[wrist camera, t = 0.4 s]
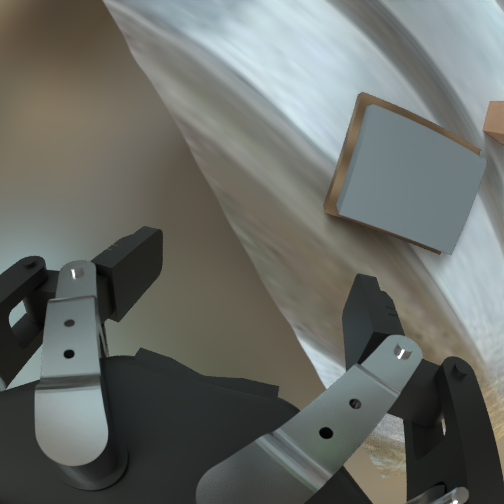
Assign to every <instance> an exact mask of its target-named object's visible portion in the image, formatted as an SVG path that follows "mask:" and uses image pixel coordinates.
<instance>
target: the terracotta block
mask: <svg viewBox="0 0 504 504" xmlns="http://www.w3.org/2000/svg"><path fill="white" fill-rule="evenodd" d="M483 131H484V132H486V133H487V134H489V135H490V136H491V137H493V138H494V139H496V140H497V141H499V142H500V143H501V144H503V145H504V101H490V102H489V106H488V111H487V115H486V119H485V123H484V127H483Z"/></svg>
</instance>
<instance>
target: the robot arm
mask: <svg viewBox="0 0 504 504" xmlns="http://www.w3.org/2000/svg"><path fill="white" fill-rule="evenodd" d="M162 252H163V233H162V231H161V230H160V229H156V228H151V227H147V226H144V227H142V228H141V229H139V230H138V231H136V232H135V233H134V234H132V235H129V236H126V237H123V238H121V239H119V240H118V241H117V242H115V243H114V245H111V246H110V247H109V248H108V249H106V250H104V251H103V252H102V253H100V254H99V255H98V256H97V257H95V258H94V259H93V260H91V261H86V260H76V261H72V262H69V263H67V264H65V265H64V266H63V267H62V268H61V269H60V271H54V270H47V269H46V264H45V260H44V259H43V258H42V257H40V256H29V257H25V258H23V259H21V260H19V261H18V262H16V263H15V264H14V265H13V266H11V267H10V268H8V269H7V270H6V271H4V272H3V273H2V274H1V275H0V504H373V503H372V502H371V501H370V499H369V498H368V497H367V496H366V494H365V493H364V492H363V491H362V489H361V488H360V487H359V485H358V484H357V483H356V482H355V480H354V479H353V478H352V476H351V475H350V474H349V472H348V471H347V470H346V469H345V467H344V466H343V464H344V463H345V462H346V461H347V460H348V459H349V458H350V457H351V456H352V454H353V453H354V452H355V451H356V450H357V449H358V448H359V447H360V445H361V444H362V443H363V442H364V441H365V439H366V438H367V437H368V436H369V435H370V433H371V432H372V431H373V430H374V428H375V427H376V426H377V425H378V423H379V422H380V421H381V420H382V418H383V417H384V416H385V414H386V413H388V414H391V415H394V416H396V417H399V418H402V419H403V424H404V435H405V450H406V473H407V502H406V503H405V504H504V481H503V475H502V469H501V464H500V459H499V454H498V450H497V445H496V441H495V437H494V433H493V429H492V426H491V422H490V419H489V415H488V412H487V408H486V405H485V402H484V399H483V396H482V393H481V390H480V387H479V384H478V381H477V379H476V376H475V373H474V371H473V369H472V368H471V366H470V365H469V364H468V363H467V362H466V361H464V360H462V359H461V358H458V357H453V356H452V357H447V358H446V359H445V360H444V361H443V363H442V364H441V366H439V365H437V364H434V363H432V362H429V361H426V360H424V359H422V351H421V349H420V347H419V346H418V345H417V344H416V343H415V342H414V341H413V340H411V339H409V338H407V337H405V335H404V332H403V329H402V326H401V323H400V320H399V317H398V314H397V311H396V310H395V309H396V308H395V305H394V303H393V300H392V299H391V298H390V297H389V295H388V294H387V293H386V292H384V291H381V290H380V287H379V284H378V281H377V278H376V277H372V276H368V275H363V274H357V275H356V277H355V280H354V282H353V285H352V288H351V291H350V293H349V296H348V299H347V301H346V304H345V307H344V310H343V316H342V324H343V335H344V347H345V361H346V373H345V374H344V375H342V376H341V377H340V378H339V379H338V380H337V381H336V382H335V383H334V384H332V385H331V386H330V387H329V388H328V389H327V390H326V391H324V392H323V393H322V394H321V395H320V396H319V397H318V398H316V399H315V400H314V401H313V402H312V403H310V404H309V405H308V406H307V407H306V408H304V409H303V410H302V411H300V410H299V409H298V408H297V407H295V406H294V405H292V404H291V403H289V402H287V401H285V400H283V399H281V398H279V397H277V396H278V391H279V386H275V385H270V384H266V383H261V382H257V381H251V380H248V379H244V378H227V377H212V376H204V375H201V374H199V373H197V372H195V371H194V370H192V369H190V368H188V367H186V366H185V365H182V364H181V363H179V362H178V361H176V360H174V359H172V358H170V357H167V356H164V355H161V354H158V353H155V352H152V351H149V350H146V349H143V348H140V349H139V351H138V352H137V353H136V355H135V356H111V357H109V350H108V342H107V335H106V327H105V320H107V318H108V319H111V320H114V321H116V322H120V320H121V319H122V318H123V317H124V316H125V315H126V313H127V312H128V311H129V310H130V309H131V308H132V306H133V305H134V304H135V303H136V302H137V300H138V299H139V298H140V297H141V296H142V295H143V293H144V292H145V291H146V290H147V289H148V288H149V287H150V286H151V284H152V283H153V282H154V281H155V280H156V279H157V278H158V276H159V275H160V272H161V269H162V262H163V256H162V254H163V253H162ZM22 300H23V303H24V306H25V309H26V312H27V313H26V314H25V315H24V316H23V317H22V318H21V319H20V320H19V321H18V322H17V323H16V324H15V325H14V326H13V327H12V328H11V326H10V324H9V314H10V312H11V310H12V309H13V308H14V307H15V306H16V305H17V304H18V303H20V302H21V301H22ZM42 344H43V346H42V358H41V376H40V380H37V381H34V382H30V383H27V384H24V385H21V386H18V387H14V388H11V389H8V390H6V388H7V387H8V385H9V384H10V383H11V382H12V380H13V379H14V378H15V376H16V375H17V374H18V373H19V371H20V370H21V369H22V367H23V366H24V365H25V364H26V363H27V361H28V360H29V359H30V358H31V357H32V355H33V354H34V353H35V352H36V351H37V349H38V348H39V347H40V346H41V345H42ZM443 418H444V420H445V425H446V432H445V436H444V434H443V428H442V422H441V420H442V419H443Z"/></svg>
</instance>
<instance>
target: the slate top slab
mask: <svg viewBox="0 0 504 504" xmlns="http://www.w3.org/2000/svg"><path fill="white" fill-rule="evenodd" d="M486 164H487V160H485V159H484V158H482V157H481V156H479V155H477V154H476V153H474V152H472V151H470V150H469V149H467V148H465V147H464V146H462V145H460V144H458V143H456V142H455V141H453V140H451V139H449V138H447V137H445V136H443V135H441V134H439V133H437V132H435V131H433V130H431V129H429V128H427V127H425V126H423V125H421V124H419V123H417V122H415V121H412V120H410V119H408V118H406V117H403V116H401V115H399V114H396V113H394V112H392V111H389V110H387V109H384V108H382V107H379V106H377V105H374V104H372V105H369V106H366V109H365V113H364V117H363V120H362V124H361V127H360V131H359V134H358V137H357V141H356V144H355V148H354V151H353V154H352V157H351V161H350V164H349V167H348V170H347V173H346V176H345V179H344V183H343V186H342V189H341V192H340V195H339V198H338V201H337V204H336V206H337V210H338V213H339V215H342V216H345V217H348V218H351V219H354V220H357V221H360V222H363V223H366V224H369V225H372V226H375V227H378V228H380V229H383V230H386V231H389V232H392V233H394V234H397V235H400V236H402V237H405V238H408V239H411V240H413V241H416V242H418V243H421V244H424V245H426V246H429V247H431V248H434V249H436V250H439V251H441V252H444V253H446V254H449V255H451V254H452V252H453V250H454V248H455V246H456V243H457V241H458V239H459V237H460V234H461V232H462V230H463V227H464V225H465V223H466V220H467V218H468V215H469V213H470V210H471V208H472V205H473V202H474V200H475V197H476V194H477V191H478V188H479V186H480V183H481V180H482V177H483V173H484V170H485V167H486Z"/></svg>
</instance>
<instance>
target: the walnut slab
mask: <svg viewBox="0 0 504 504" xmlns="http://www.w3.org/2000/svg"><path fill="white" fill-rule="evenodd" d="M372 104H374V105H377V106H379V107H382V108H384V109H387V110H389V111H392V112H394V113H396V114H399V115H401V116H403V117H406V118H408V119H410V120H412V121H415V122H417V123H419V124H421V125H423V126H425V127H427V128H429V129H431V130H433V131H435V132H437V133H439V134H441V135H443V136H445V137H447V138H449V139H451V140H453V141H455V142H456V143H458V144H460V145H462V146H464V147H465V148H467V149H469V150H470V151H472V152H474V153H476V154H477V155H479V154H480V151H481V150H480V149H478V148H477V147H475V146H473V145H472V144H470V143H468V142H467V141H465V140H463V139H462V138H460V137H458V136H456V135H455V134H453V133H451V132H449V131H447V130H446V129H444V128H442V127H440V126H438V125H436V124H434V123H432V122H430V121H428V120H426V119H424V118H422V117H420V116H418V115H416V114H414V113H412V112H410V111H407V110H405V109H403V108H401V107H398V106H396V105H394V104H392V103H389V102H387V101H384V100H382V99H379V98H377V97H374V96H372V95H369V94H367V93H364V92H361V93H360V94H358V96H357V100H356V103H355V107H354V110H353V114H352V117H351V121H350V124H349V127H348V131H347V134H346V137H345V140H344V144H343V147H342V150H341V153H340V157H339V160H338V163H337V166H336V169H335V172H334V175H333V178H332V181H331V184H330V187H329V190H328V193H327V196H326V199H325V202H324V205H323V206H324V212H325V213H328V214H331V215H334V216H337V217H340V218H343V219H346V220H349V221H352V222H354V223H357V224H360V225H363V226H366V227H369V228H371V229H374V230H377V231H380V232H382V233H385V234H388V235H390V236H393V237H396V238H398V239H401V240H404V241H406V242H409V243H412V244H414V245H417V246H419V247H422V248H424V249H427V250H429V251H432V252H434V253H437V254H439V255H440V254H441V251H439V250H436V249H434V248H431V247H429V246H426V245H424V244H421V243H418V242H416V241H413V240H411V239H408V238H405V237H402V236H400V235H397V234H394V233H392V232H389V231H386V230H383V229H380V228H378V227H375V226H372V225H369V224H366V223H363V222H360V221H357V220H354V219H351V218H348V217H345V216H342V215H339V213H338V210H337V206H336V204H337V201H338V198H339V195H340V192H341V189H342V186H343V183H344V179H345V176H346V173H347V170H348V167H349V164H350V161H351V157H352V154H353V151H354V148H355V144H356V141H357V137H358V134H359V131H360V127H361V124H362V120H363V117H364V113H365V109H366V106H369V105H372Z"/></svg>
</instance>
